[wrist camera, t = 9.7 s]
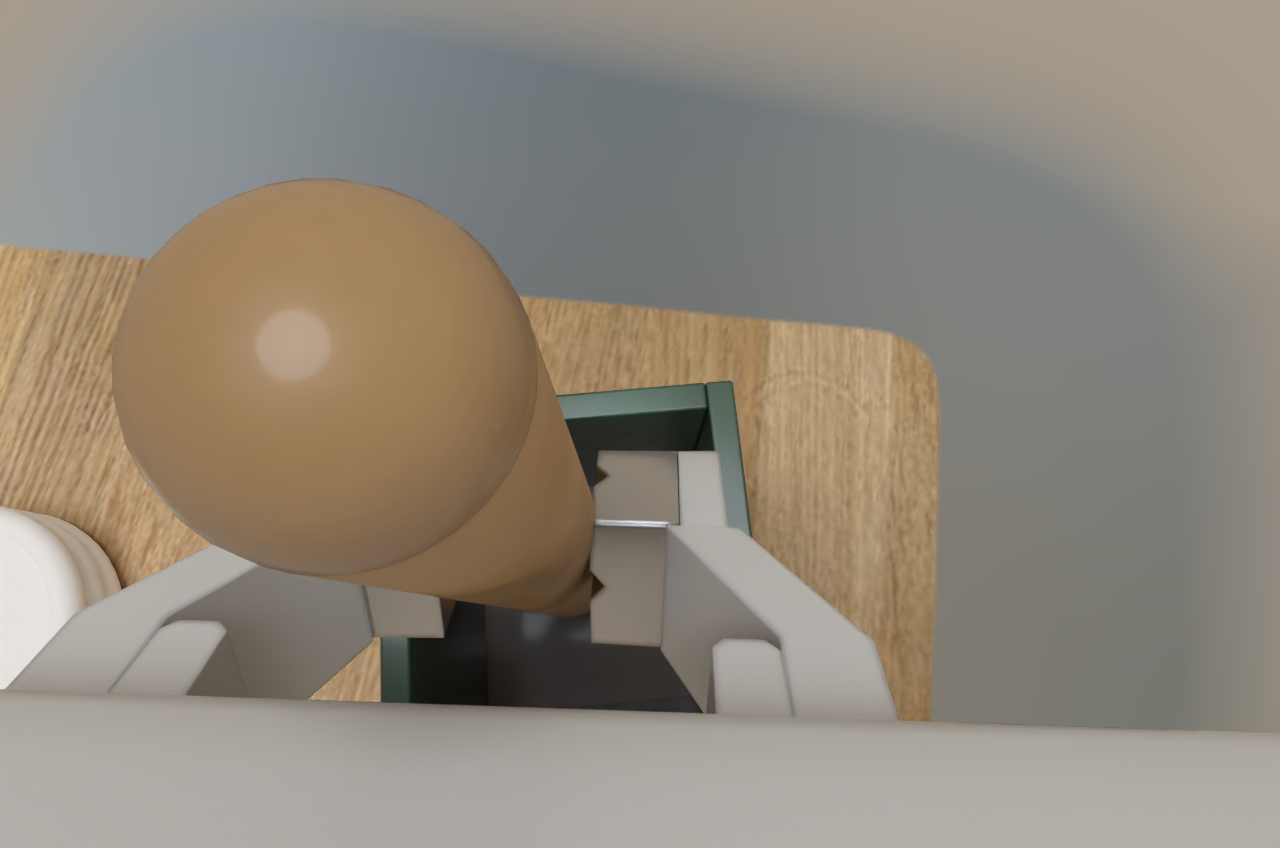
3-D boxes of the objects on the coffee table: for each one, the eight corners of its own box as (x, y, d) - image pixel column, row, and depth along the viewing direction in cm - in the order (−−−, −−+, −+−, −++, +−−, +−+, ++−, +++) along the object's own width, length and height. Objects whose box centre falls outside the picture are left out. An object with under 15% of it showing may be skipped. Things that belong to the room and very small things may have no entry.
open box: (708, 478, 34) (780, 323, 17) (735, 716, 32) (852, 820, 15) (482, 497, 34) (322, 360, 17) (491, 739, 32) (314, 873, 14)
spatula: (671, 551, 23) (878, 37, 3) (677, 613, 23) (972, 490, 3) (510, 566, 23) (-381, 134, 3) (513, 628, 23) (-524, 625, 2)
